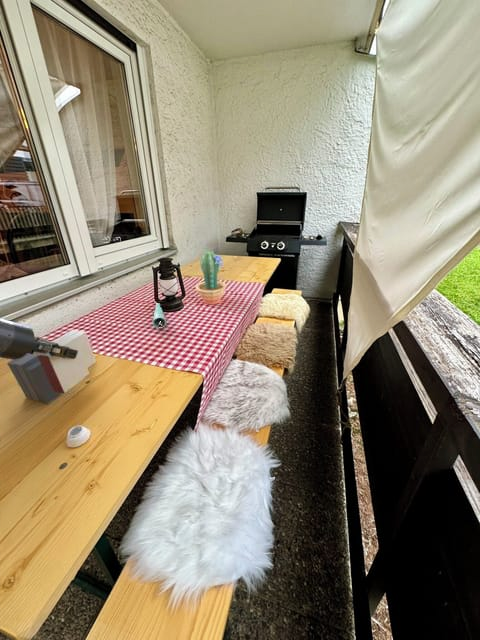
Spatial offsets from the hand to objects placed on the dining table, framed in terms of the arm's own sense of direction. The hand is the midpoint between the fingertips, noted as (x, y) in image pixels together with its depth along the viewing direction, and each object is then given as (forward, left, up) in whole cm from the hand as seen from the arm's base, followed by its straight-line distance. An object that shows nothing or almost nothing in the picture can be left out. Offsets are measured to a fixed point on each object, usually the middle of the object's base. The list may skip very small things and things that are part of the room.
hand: (69, 353), depth 67 cm
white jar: (+10, -12, -15) cm, 22 cm away
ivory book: (0, -2, -8) cm, 8 cm away
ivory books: (-12, +10, -15) cm, 22 cm away
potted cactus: (+8, +72, -15) cm, 74 cm away
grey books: (-12, -2, -15) cm, 19 cm away
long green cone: (-9, +50, -15) cm, 53 cm away
